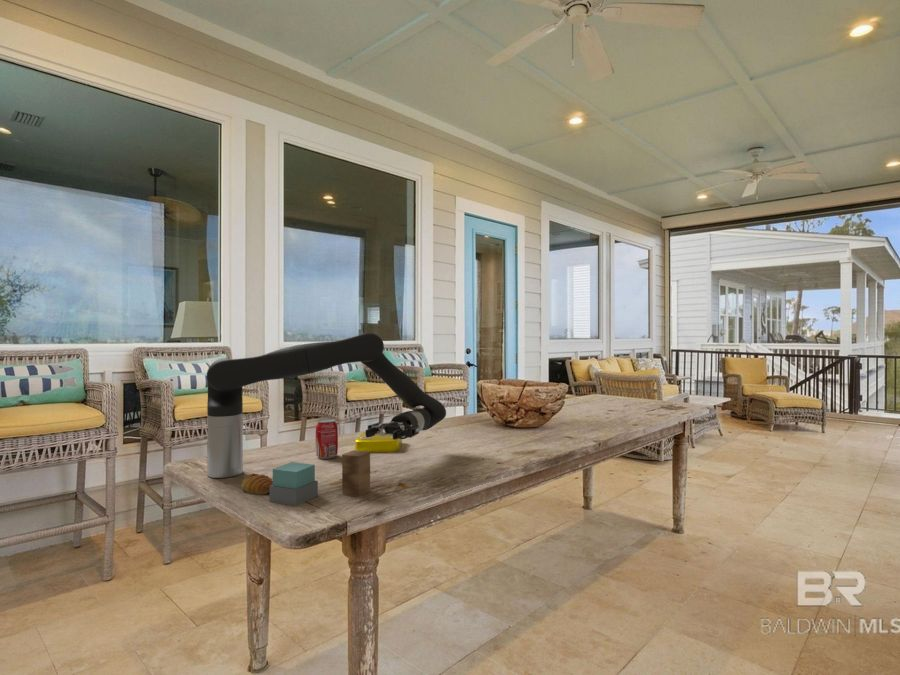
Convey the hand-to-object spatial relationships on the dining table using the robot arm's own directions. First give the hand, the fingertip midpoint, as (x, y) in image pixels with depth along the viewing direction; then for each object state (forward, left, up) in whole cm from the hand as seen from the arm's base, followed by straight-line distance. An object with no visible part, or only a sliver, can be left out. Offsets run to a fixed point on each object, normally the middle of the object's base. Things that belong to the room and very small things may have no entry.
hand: (380, 434), depth 134 cm
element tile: (-28, +28, -13) cm, 42 cm away
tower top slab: (-7, -23, -9) cm, 26 cm away
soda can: (-32, +8, -13) cm, 36 cm away
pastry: (-20, -24, -13) cm, 34 cm away
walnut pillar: (+3, -11, -12) cm, 17 cm away
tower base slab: (-7, -23, -13) cm, 27 cm away
